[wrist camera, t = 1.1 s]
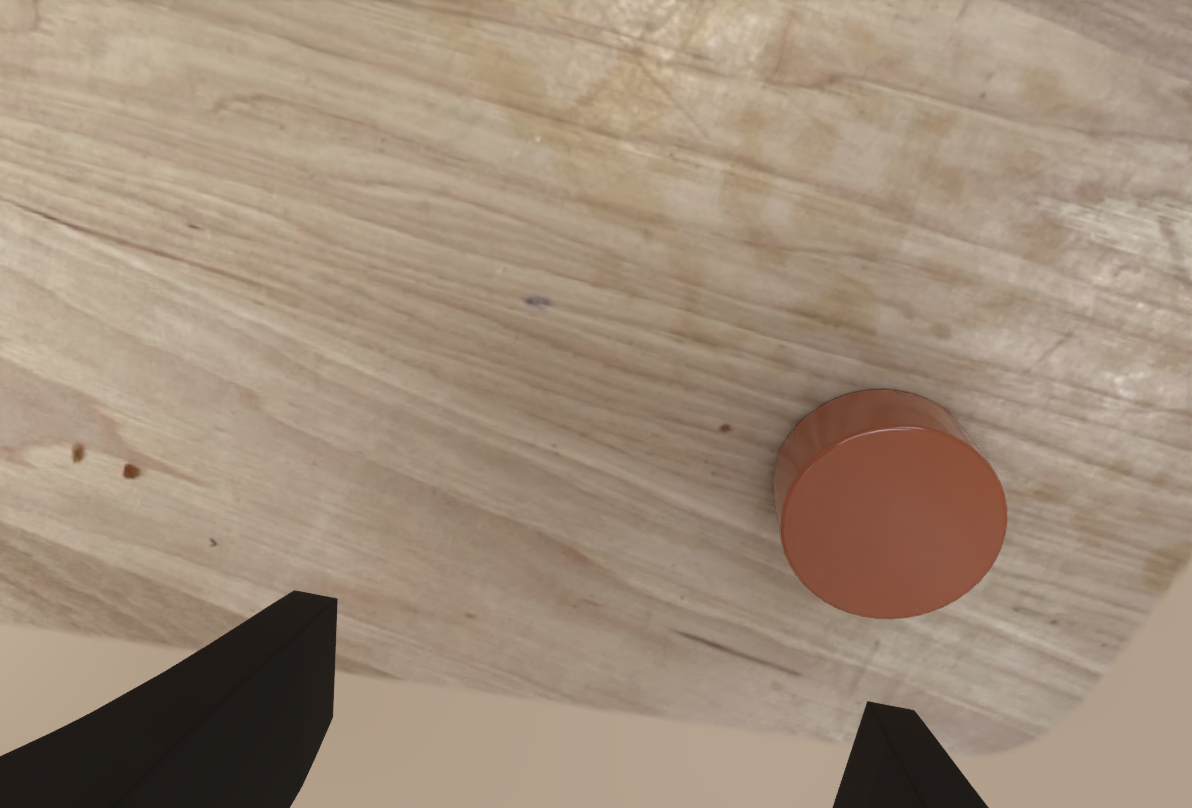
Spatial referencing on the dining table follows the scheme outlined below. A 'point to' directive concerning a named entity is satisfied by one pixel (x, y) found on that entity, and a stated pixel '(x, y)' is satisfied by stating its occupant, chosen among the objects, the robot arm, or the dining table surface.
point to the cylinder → (887, 505)
